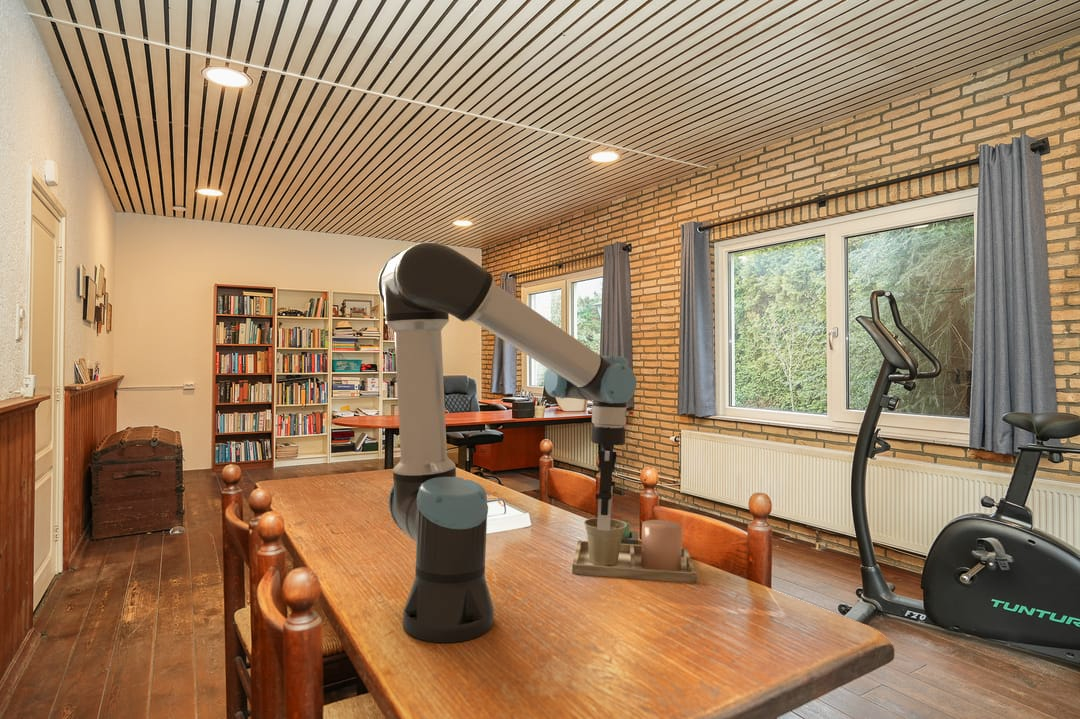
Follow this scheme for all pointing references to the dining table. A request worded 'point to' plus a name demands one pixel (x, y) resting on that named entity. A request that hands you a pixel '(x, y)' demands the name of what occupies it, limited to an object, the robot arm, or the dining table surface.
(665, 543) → the taupe pillar candle
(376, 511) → the dining table surface
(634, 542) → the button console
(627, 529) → the button
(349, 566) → the dining table surface
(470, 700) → the dining table surface
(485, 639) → the dining table surface
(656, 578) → the wooden serving tray
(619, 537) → the flower pot
